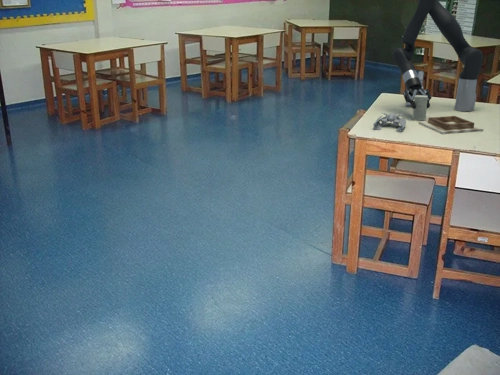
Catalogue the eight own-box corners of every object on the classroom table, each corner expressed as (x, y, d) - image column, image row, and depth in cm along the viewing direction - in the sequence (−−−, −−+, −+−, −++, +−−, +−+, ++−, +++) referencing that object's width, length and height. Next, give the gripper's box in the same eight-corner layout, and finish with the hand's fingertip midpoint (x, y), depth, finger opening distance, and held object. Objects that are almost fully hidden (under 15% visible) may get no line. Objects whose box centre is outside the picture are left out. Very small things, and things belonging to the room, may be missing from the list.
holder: (456, 121, 266) (457, 114, 265) (483, 131, 248) (484, 123, 247) (418, 123, 261) (419, 116, 259) (442, 134, 243) (443, 126, 241)
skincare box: (425, 119, 270) (428, 95, 265) (424, 121, 266) (427, 97, 262) (412, 117, 272) (415, 94, 268) (411, 119, 268) (414, 96, 264)
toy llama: (422, 103, 307) (426, 68, 300) (418, 109, 292) (422, 72, 285) (408, 101, 310) (412, 67, 303) (404, 107, 295) (408, 71, 288)
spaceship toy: (372, 131, 248) (373, 118, 246) (378, 121, 266) (379, 109, 263) (402, 134, 244) (403, 121, 241) (407, 124, 261) (408, 111, 259)
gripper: (402, 77, 267) (412, 104, 260) (427, 76, 270) (437, 103, 264) (396, 85, 273) (405, 112, 267) (420, 84, 277) (430, 111, 271)
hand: (421, 107), depth 265 cm, fingers closed on skincare box, 7 cm apart
